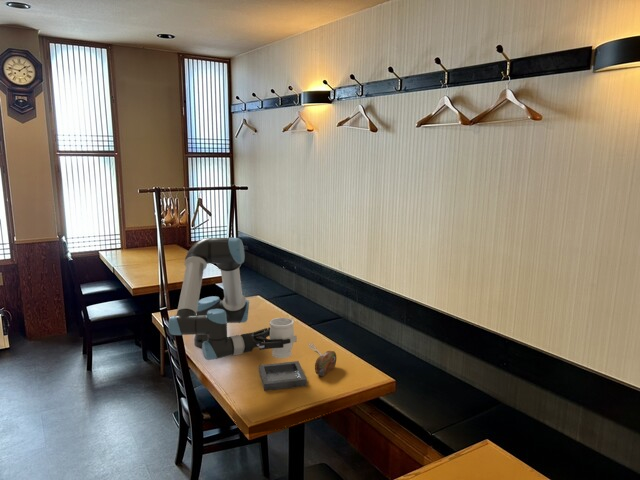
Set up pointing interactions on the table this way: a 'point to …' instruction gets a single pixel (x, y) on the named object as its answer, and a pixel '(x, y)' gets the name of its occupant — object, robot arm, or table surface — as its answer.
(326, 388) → the table surface
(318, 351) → the fork
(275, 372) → the dark grey square tray
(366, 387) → the table surface
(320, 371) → the tin
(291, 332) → the jar
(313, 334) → the table surface
